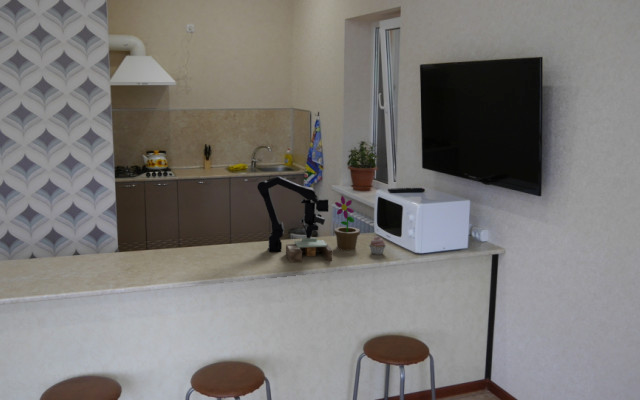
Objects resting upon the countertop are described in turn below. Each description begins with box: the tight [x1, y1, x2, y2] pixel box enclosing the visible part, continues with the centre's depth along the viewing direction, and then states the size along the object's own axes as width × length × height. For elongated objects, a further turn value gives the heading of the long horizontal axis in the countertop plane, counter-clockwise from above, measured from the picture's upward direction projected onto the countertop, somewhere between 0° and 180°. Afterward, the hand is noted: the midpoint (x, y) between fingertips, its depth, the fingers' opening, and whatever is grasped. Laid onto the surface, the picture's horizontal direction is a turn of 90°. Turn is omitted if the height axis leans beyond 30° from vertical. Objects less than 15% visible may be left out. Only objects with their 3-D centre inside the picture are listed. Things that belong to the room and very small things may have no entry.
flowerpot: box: [333, 195, 361, 251], centre depth 327 cm, size 14×14×30 cm
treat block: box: [305, 247, 316, 257], centre depth 314 cm, size 4×4×5 cm
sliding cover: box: [293, 237, 329, 248], centre depth 313 cm, size 16×10×2 cm, turn 103°
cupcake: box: [368, 235, 387, 256], centre depth 320 cm, size 9×9×10 cm
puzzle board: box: [285, 241, 333, 263], centre depth 311 cm, size 22×18×6 cm
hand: (308, 239), depth 318 cm, fingers closed
